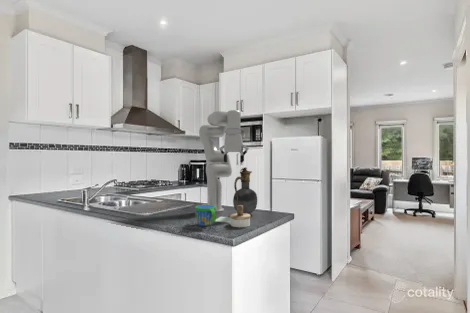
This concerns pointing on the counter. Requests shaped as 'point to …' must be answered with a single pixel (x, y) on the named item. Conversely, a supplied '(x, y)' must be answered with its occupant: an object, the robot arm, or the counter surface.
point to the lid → (240, 214)
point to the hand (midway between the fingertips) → (233, 162)
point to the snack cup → (205, 214)
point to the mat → (223, 219)
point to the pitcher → (245, 193)
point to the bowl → (239, 222)
